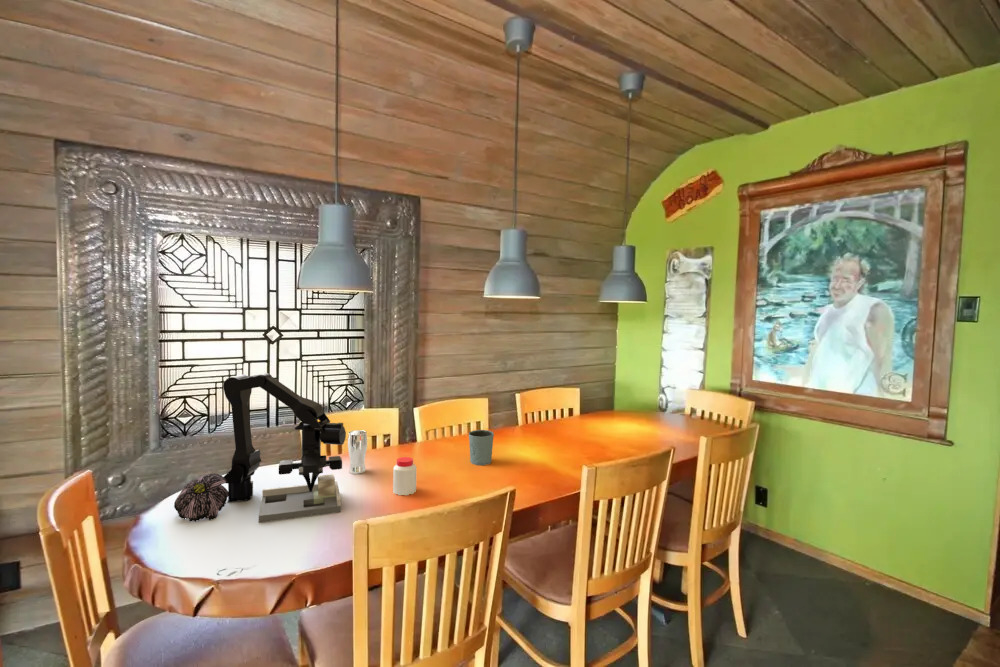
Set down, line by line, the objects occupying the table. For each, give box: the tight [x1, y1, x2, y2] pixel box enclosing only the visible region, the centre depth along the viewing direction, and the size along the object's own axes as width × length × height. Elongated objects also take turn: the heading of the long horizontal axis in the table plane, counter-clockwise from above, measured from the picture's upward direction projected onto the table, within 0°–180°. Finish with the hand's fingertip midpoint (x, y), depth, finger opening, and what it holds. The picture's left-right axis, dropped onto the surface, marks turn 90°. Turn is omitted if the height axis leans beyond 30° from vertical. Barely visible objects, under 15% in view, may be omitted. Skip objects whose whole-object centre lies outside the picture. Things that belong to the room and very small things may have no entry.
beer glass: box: [347, 429, 368, 475], centre depth 186 cm, size 7×7×15 cm
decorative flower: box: [173, 473, 229, 523], centre depth 147 cm, size 14×12×15 cm
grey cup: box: [468, 429, 495, 466], centre depth 200 cm, size 10×10×12 cm
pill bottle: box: [392, 456, 417, 496], centre depth 168 cm, size 8×8×11 cm
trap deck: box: [258, 480, 342, 524], centre depth 153 cm, size 22×16×4 cm
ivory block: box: [317, 473, 336, 496], centre depth 160 cm, size 5×5×5 cm
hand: (310, 491), depth 158 cm, fingers closed
